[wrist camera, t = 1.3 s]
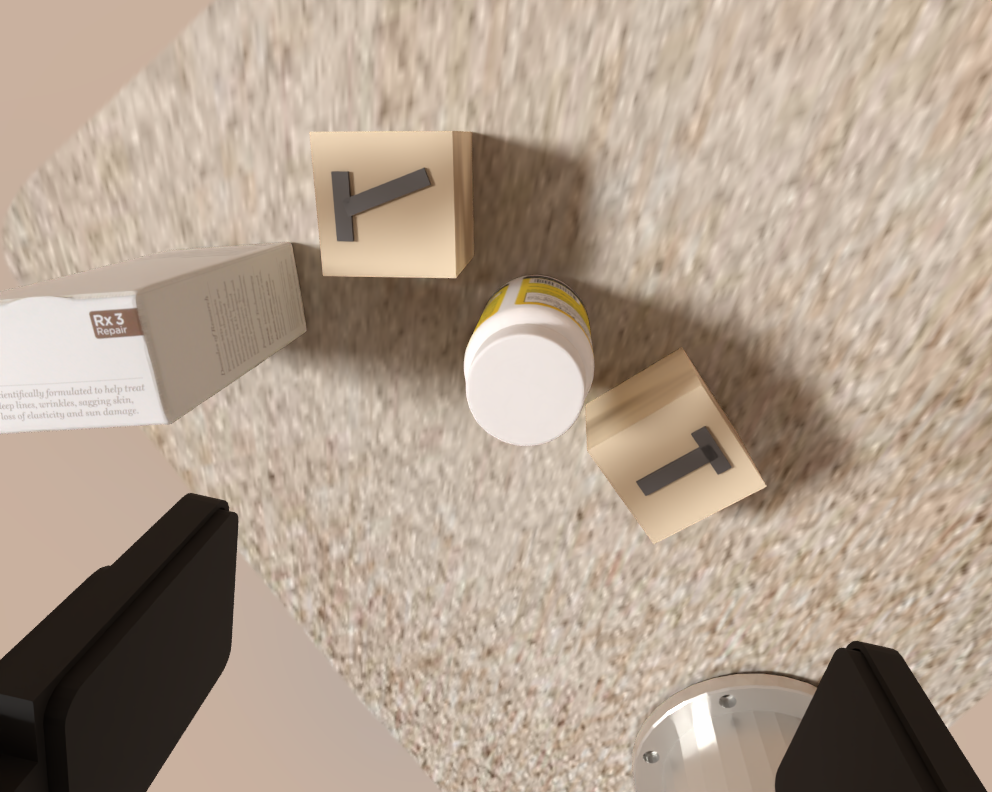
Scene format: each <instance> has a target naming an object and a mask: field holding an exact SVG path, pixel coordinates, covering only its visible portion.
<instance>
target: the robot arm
mask: <svg viewBox="0 0 992 792" xmlns="http://www.w3.org/2000/svg"><path fill="white" fill-rule="evenodd" d="M237 538H238V515H237V514H236V513H235V512H230V511H229V506H228V503H227V502H226V501H225V500H220V499H216V498H211V497H207V496H202V495H198V494H193V493H188V494H187V495H185V496H184V497H182V498H181V499H180V500H179V501H178V502H177V503H176V504H175V505H174V506H173V507H172V508H171V509H170V510H169V511H168V512H167V513H166V514H165V515H164V516H163V517H161V519H159V520H158V521H157V523H155V524H154V525H153V526H152V527H151V528H150V529H149V530H148V531H147V532H146V533H145V534H144V535H143V536H142V537H141V538H140V539H139V540H137V542H135V543H134V544H133V545H132V546H131V547H130V548H129V549H128V550H127V551H126V552H125V553H124V554H123V555H122V556H121V557H120V558H119V559H118V560H116V561H115V562H114V563H113V564H112V565H111V566H105V567H102V568H100V569H98V570H97V571H96V572H94V573H93V574H92V575H91V576H90V577H89V578H87V579H86V580H85V581H84V582H83V583H82V584H81V585H80V586H79V587H78V588H77V589H76V590H75V591H73V592H72V593H71V594H70V595H69V596H68V597H67V598H66V599H65V600H64V601H63V602H62V603H61V604H60V605H59V606H57V608H55V609H54V610H53V611H52V612H51V613H50V614H49V615H48V616H47V617H46V618H45V619H44V620H43V621H41V622H40V623H39V624H38V625H37V626H36V627H35V628H34V629H33V630H32V631H31V632H30V633H29V634H28V635H26V636H25V637H24V638H23V639H22V640H21V641H20V642H19V643H18V644H17V645H16V646H15V647H14V648H13V649H11V651H9V652H8V653H7V654H6V655H5V656H4V657H3V658H2V659H1V660H0V792H146V791H147V790H148V788H149V786H150V785H151V783H152V782H153V780H154V779H155V777H156V776H157V774H158V772H159V771H160V769H161V768H162V766H163V764H164V763H165V761H166V760H167V758H168V757H169V755H170V754H171V752H172V750H173V749H174V747H175V746H176V744H177V743H178V741H179V739H180V738H181V736H182V734H183V733H184V731H185V730H186V728H187V727H188V725H189V724H190V722H191V720H192V719H193V717H194V716H195V714H196V713H197V711H198V710H199V708H200V706H201V705H202V703H203V702H204V700H205V699H206V697H207V696H208V694H209V692H210V691H211V689H212V688H213V686H214V684H215V683H216V681H217V680H218V678H219V677H220V675H221V673H222V672H223V670H224V668H225V666H226V663H227V661H228V658H229V655H230V651H231V643H232V626H233V608H234V590H235V572H236V553H237ZM632 771H633V778H634V786H635V791H636V792H987V791H986V789H985V787H984V786H983V784H982V783H981V781H980V780H979V778H978V776H977V775H976V773H975V772H974V770H973V768H972V767H971V765H970V764H969V762H968V760H967V759H966V757H965V756H964V754H963V753H962V751H961V750H960V748H959V746H958V745H957V743H956V742H955V740H954V738H953V737H952V735H951V734H950V732H949V730H948V729H947V727H946V726H945V724H944V722H943V721H942V719H941V718H940V716H939V714H938V713H937V711H936V710H935V708H934V707H933V705H932V703H931V702H930V700H929V699H928V697H927V695H926V694H925V692H924V691H923V689H922V688H921V686H920V684H919V683H918V681H917V680H916V678H915V676H914V675H913V673H912V672H911V670H910V668H909V667H908V665H907V664H906V662H905V661H904V659H903V657H902V656H901V655H900V654H899V653H898V651H896V650H894V649H891V648H887V647H882V646H878V645H873V644H869V643H864V642H860V641H853V642H851V643H850V644H849V645H848V646H847V647H846V648H839V649H838V650H836V652H835V653H834V655H833V657H832V659H831V661H830V663H829V665H828V667H827V669H826V671H825V673H824V675H823V677H822V679H821V681H820V683H819V685H818V687H815V686H813V685H811V684H809V683H805V682H802V681H799V680H795V679H792V678H788V677H784V676H776V675H769V674H735V675H729V676H723V677H717V678H712V679H709V680H706V681H703V682H700V683H697V684H694V685H692V686H690V687H688V688H686V689H684V690H682V691H680V692H678V693H676V694H674V695H672V696H671V697H670V698H669V699H667V700H666V701H665V702H663V703H662V704H661V705H659V706H658V707H657V708H656V709H655V710H654V711H653V712H652V714H651V715H650V716H649V717H648V718H647V719H646V720H645V722H644V724H643V725H642V727H641V729H640V731H639V733H638V735H637V736H636V740H635V744H634V748H633V751H632Z"/></svg>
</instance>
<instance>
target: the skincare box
mask: <svg viewBox="0 0 992 792" xmlns="http://www.w3.org/2000/svg"><path fill="white" fill-rule="evenodd" d="M306 331H307V329H306V321H305V316H304V308H303V302H302V297H301V291H300V285H299V279H298V274H297V269H296V264H295V258H294V253H293V247H292V244H291V243H289V242H278V243H264V244H249V245H235V246H221V247H207V248H193V249H179V250H168V251H162V252H158V253H154V254H150V255H146V256H142V257H138V258H134V259H130V260H126V261H122V262H118V263H114V264H110V265H106V266H102V267H98V268H94V269H90V270H87V271H82V272H79V273H74V274H71V275H67V276H63V277H59V278H55V279H51V280H46V281H42V282H38V283H34V284H30V285H26V286H21V287H17V288H12V289H8V290H4V291H0V434H10V433H25V432H41V431H58V430H75V429H91V428H107V427H123V426H143V425H156V424H172V423H173V422H175V421H176V420H178V419H179V418H181V417H182V416H184V415H185V414H186V413H188V412H189V411H191V410H192V409H194V408H195V407H196V406H198V405H199V404H201V403H202V402H204V401H205V400H207V399H209V398H210V397H212V396H213V395H215V394H216V393H218V392H219V391H221V390H222V389H224V388H225V387H227V386H228V385H229V384H231V383H232V382H234V381H235V380H237V379H238V378H240V377H241V376H242V375H244V374H245V373H247V372H248V371H250V370H251V369H253V368H255V367H256V366H257V365H259V364H260V363H262V362H263V361H264V360H266V359H267V358H269V357H270V356H272V355H273V354H275V353H276V352H277V351H279V350H280V349H282V348H283V347H285V346H286V345H288V344H289V343H291V342H292V341H293V340H295V339H296V338H298V337H299V336H301V335H302V334H304V333H305V332H306Z"/></svg>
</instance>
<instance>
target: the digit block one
mask: <svg viewBox="0 0 992 792" xmlns="http://www.w3.org/2000/svg"><path fill="white" fill-rule="evenodd" d="M585 410H586V434H587V451H588V453H589V454H590V455H591V457H592V458H593V460H594V461H595V462H596V464H597V465H598V467H599V468H600V469H601V471H602V472H603V474H604V475H605V476H606V478H607V479H608V481H609V482H610V484H611V485H612V486H613V488H614V489H615V491H616V492H617V493H618V495H619V496H620V498H621V499H622V500H623V502H624V503H625V505H626V506H627V507H628V509H629V510H630V512H631V513H632V514H633V516H634V517H635V519H636V520H637V521H638V523H639V524H640V526H641V527H642V528H643V530H644V531H645V533H646V534H647V535H648V537H649V538H650V540H651V541H652V542H653V544H655V543H657V542H659V541H661V540H663V539H665V538H667V537H669V536H671V535H673V534H675V533H677V532H679V531H681V530H683V529H685V528H687V527H689V526H691V525H693V524H695V523H696V522H698V521H700V520H702V519H704V518H706V517H708V516H710V515H712V514H714V513H716V512H718V511H720V510H722V509H724V508H726V507H728V506H730V505H732V504H734V503H736V502H737V501H739V500H741V499H743V498H745V497H747V496H749V495H751V494H753V493H755V492H757V491H759V490H761V489H763V488H765V487H767V486H766V484H765V482H764V481H763V479H762V477H761V475H760V473H759V472H758V470H757V468H756V466H755V464H754V462H753V461H752V459H751V457H750V455H749V453H748V452H747V450H746V448H745V446H744V444H743V442H742V441H741V439H740V437H739V435H738V434H737V432H736V430H735V429H734V427H733V426H732V424H731V423H730V421H729V419H728V418H727V416H726V415H725V413H724V412H723V410H722V409H721V407H720V405H719V404H718V402H717V401H716V399H715V398H714V396H713V395H712V393H711V391H710V390H709V388H708V387H707V385H706V384H705V382H704V380H703V379H702V377H701V376H700V374H699V373H698V371H697V370H696V368H695V366H694V365H693V363H692V362H691V360H690V359H689V357H688V355H687V354H686V352H685V351H684V349H683V348H682V347H681V348H680V349H678V350H676V351H675V352H673V353H671V354H670V355H668V356H666V357H665V358H663V359H661V360H660V361H658V362H656V363H655V364H653V365H651V366H650V367H648V368H646V369H645V370H643V371H641V372H640V373H638V374H636V375H635V376H633V377H631V378H629V379H628V380H626V381H624V382H623V383H621V384H619V385H618V386H616V387H614V388H613V389H611V390H609V391H608V392H606V393H604V394H603V395H601V396H599V397H598V398H596V399H594V400H593V401H591V402H589V403H588V404H586V405H585Z"/></svg>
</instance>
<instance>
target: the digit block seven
mask: <svg viewBox="0 0 992 792" xmlns="http://www.w3.org/2000/svg"><path fill="white" fill-rule="evenodd" d="M309 133H310V144H311V155H312V165H313V176H314V186H315V197H316V208H317V218H318V229H319V239H320V250H321V261H322V271H323V276H348V277H411V278H457V276H458V275H459V274H460V273H461V272H462V270H463V269H464V268H465V267H466V265H467V264H468V263H469V262H470V260H471V259H472V258H473V257H474V223H473V160H472V132H463V131H377V132H309Z"/></svg>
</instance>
